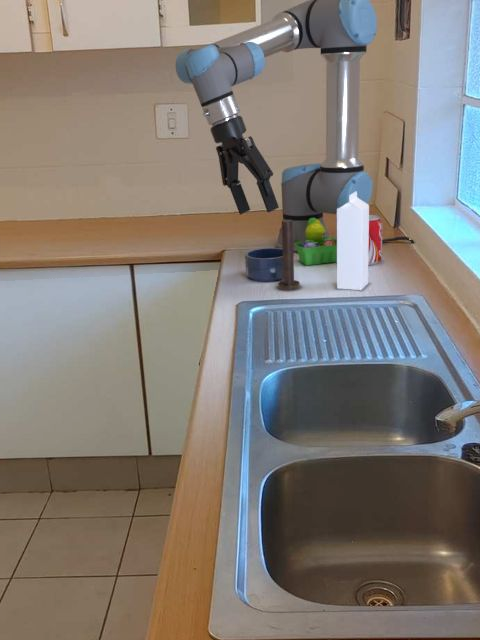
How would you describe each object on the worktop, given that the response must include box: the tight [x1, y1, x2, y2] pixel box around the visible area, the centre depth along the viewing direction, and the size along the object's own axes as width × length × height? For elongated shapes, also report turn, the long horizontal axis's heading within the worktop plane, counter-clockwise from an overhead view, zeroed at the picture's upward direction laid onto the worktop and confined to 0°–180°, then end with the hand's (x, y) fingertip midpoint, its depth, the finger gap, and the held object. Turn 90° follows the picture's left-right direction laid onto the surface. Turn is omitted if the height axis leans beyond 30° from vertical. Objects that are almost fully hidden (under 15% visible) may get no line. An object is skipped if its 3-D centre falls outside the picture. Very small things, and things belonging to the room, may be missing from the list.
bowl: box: [244, 247, 283, 282], centre depth 191 cm, size 11×12×6 cm
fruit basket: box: [295, 218, 337, 266], centre depth 201 cm, size 11×9×11 cm
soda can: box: [368, 214, 383, 266], centre depth 197 cm, size 7×7×12 cm
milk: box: [336, 191, 370, 291], centre depth 176 cm, size 6×6×22 cm
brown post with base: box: [277, 219, 301, 292], centre depth 179 cm, size 5×5×16 cm
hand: (258, 211), depth 173 cm, fingers open, 13 cm apart
